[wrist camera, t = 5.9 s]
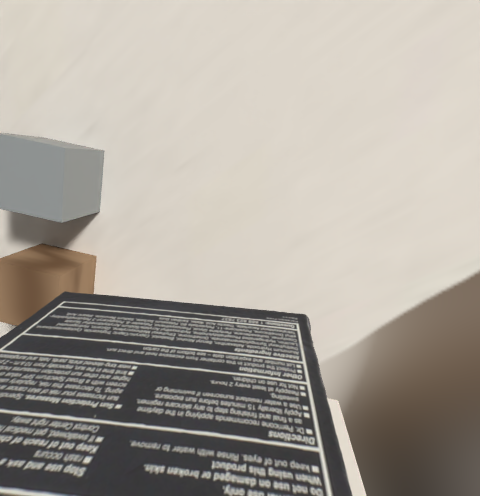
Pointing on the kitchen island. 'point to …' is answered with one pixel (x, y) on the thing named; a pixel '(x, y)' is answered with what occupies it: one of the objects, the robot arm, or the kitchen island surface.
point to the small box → (164, 402)
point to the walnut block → (41, 279)
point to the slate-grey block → (49, 177)
